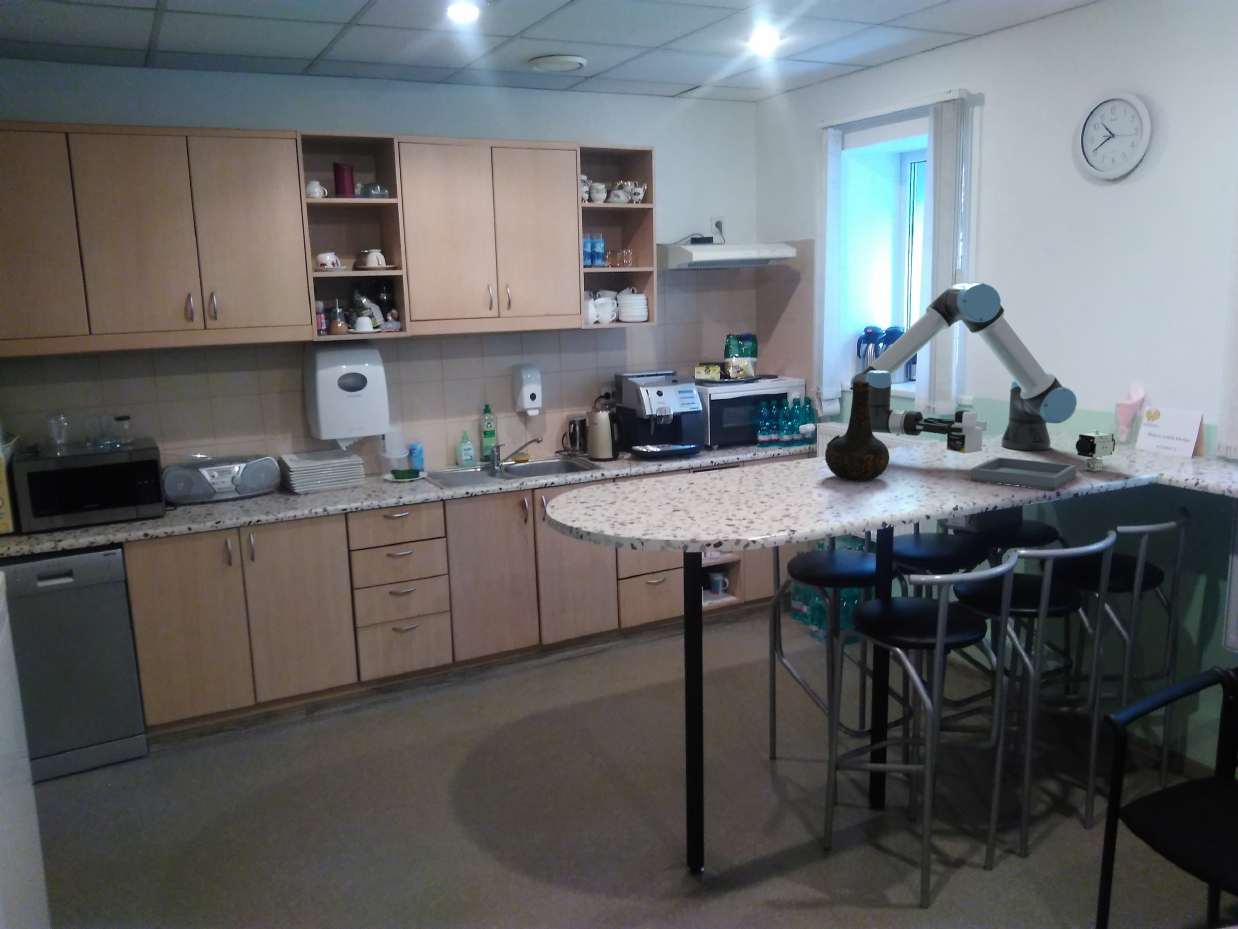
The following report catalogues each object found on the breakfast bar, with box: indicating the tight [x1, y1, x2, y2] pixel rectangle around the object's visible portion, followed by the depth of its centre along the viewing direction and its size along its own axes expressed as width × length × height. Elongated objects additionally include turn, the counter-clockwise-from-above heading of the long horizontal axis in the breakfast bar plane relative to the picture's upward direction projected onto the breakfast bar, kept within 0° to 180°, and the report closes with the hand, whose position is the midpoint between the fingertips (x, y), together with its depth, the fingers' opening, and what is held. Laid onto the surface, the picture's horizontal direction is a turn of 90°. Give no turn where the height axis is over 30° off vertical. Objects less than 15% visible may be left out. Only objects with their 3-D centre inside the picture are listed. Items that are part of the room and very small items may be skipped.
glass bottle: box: [824, 381, 890, 482], centre depth 260 cm, size 18×18×28 cm
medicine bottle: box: [946, 410, 984, 454], centre depth 273 cm, size 7×7×12 cm
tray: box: [970, 456, 1077, 492], centre depth 258 cm, size 22×22×4 cm
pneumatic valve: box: [1075, 429, 1116, 473], centre depth 267 cm, size 6×12×12 cm, turn 117°
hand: (980, 428), depth 270 cm, fingers closed on medicine bottle, 9 cm apart
